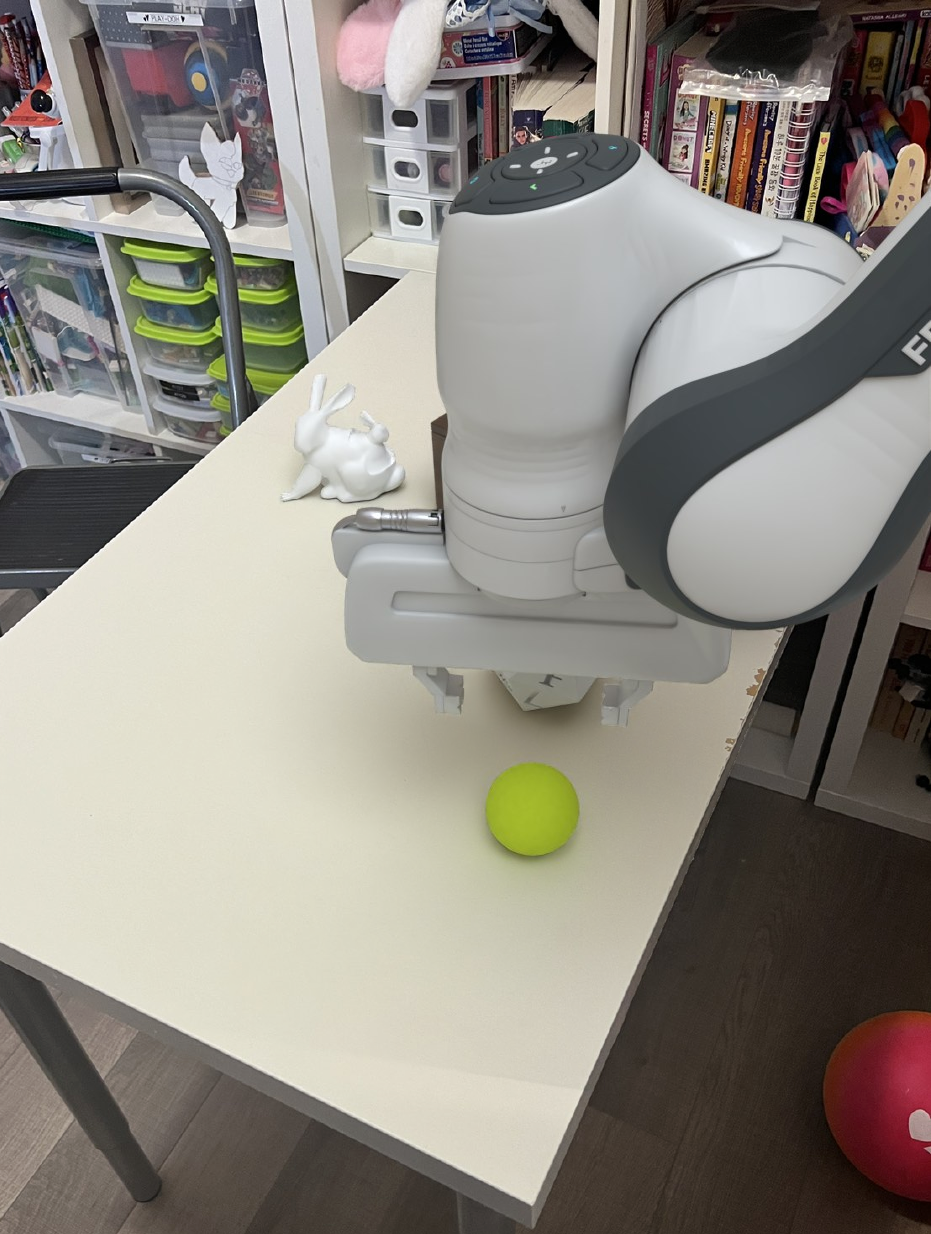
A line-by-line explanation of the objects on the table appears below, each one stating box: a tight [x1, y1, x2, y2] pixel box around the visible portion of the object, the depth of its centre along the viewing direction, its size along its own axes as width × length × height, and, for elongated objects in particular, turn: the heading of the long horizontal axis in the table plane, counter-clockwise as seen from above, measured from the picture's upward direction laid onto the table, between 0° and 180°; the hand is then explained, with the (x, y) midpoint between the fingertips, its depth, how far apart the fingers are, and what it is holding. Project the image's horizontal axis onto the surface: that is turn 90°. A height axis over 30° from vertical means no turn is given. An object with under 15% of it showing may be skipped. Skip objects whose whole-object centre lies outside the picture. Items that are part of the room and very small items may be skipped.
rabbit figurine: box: [279, 373, 406, 503], centre depth 95 cm, size 12×8×10 cm, turn 78°
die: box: [493, 671, 597, 712], centre depth 75 cm, size 8×9×10 cm
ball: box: [485, 761, 580, 857], centre depth 66 cm, size 6×6×6 cm
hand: (530, 712), depth 60 cm, fingers open, 8 cm apart
